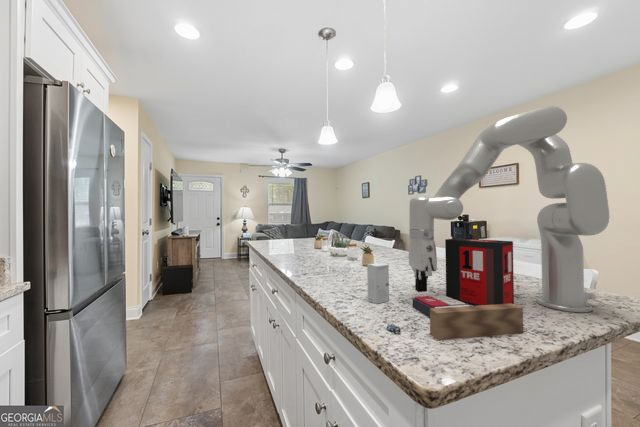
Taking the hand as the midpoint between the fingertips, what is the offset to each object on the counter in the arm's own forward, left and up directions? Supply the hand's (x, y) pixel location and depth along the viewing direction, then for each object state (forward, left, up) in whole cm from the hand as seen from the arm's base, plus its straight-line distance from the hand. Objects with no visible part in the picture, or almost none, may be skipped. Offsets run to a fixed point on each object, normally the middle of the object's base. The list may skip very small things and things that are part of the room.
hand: (421, 290), depth 86 cm
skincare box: (+14, -3, -4) cm, 14 cm away
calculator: (0, +12, -4) cm, 12 cm away
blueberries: (+17, +19, -4) cm, 26 cm away
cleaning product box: (-17, +4, -4) cm, 18 cm away
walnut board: (0, +24, -3) cm, 24 cm away
